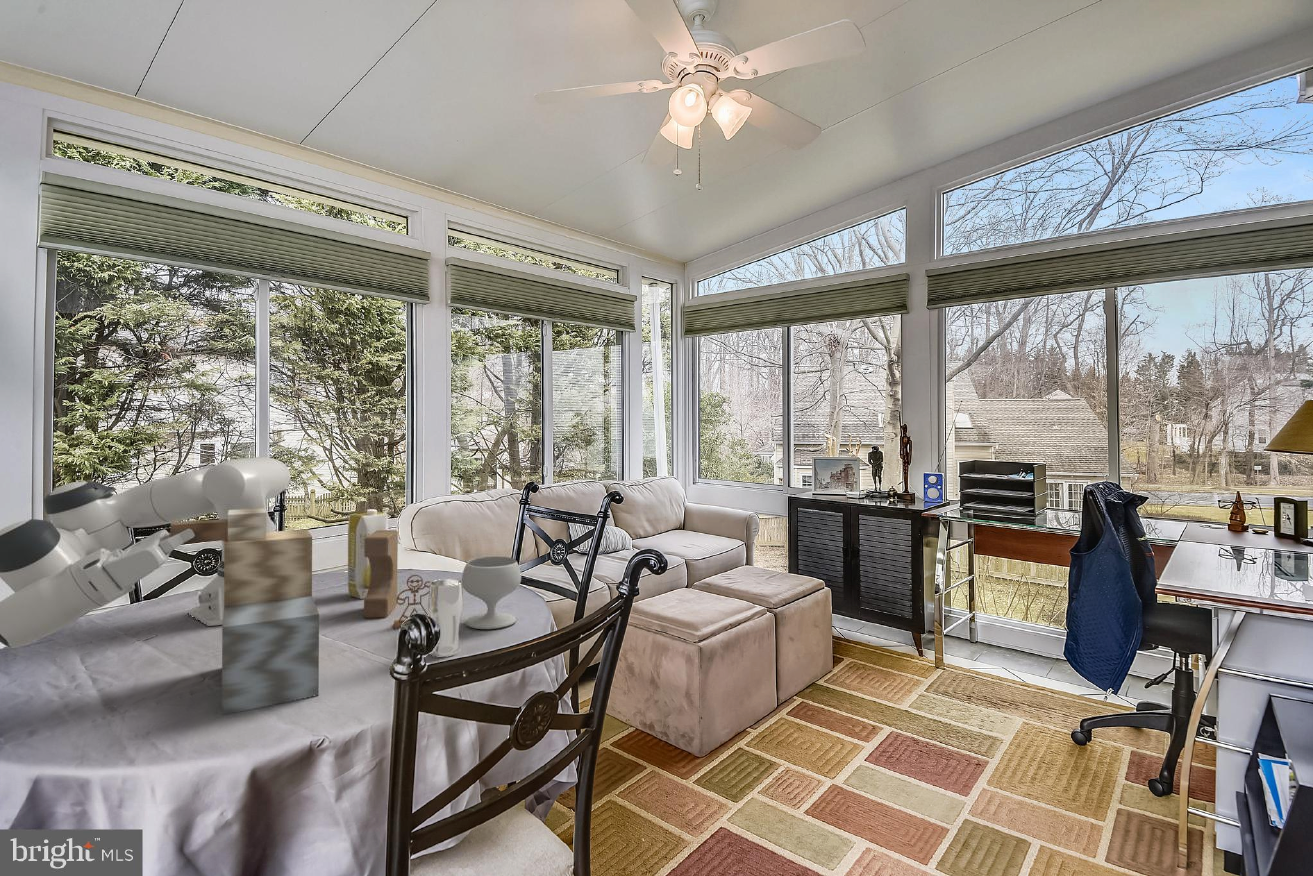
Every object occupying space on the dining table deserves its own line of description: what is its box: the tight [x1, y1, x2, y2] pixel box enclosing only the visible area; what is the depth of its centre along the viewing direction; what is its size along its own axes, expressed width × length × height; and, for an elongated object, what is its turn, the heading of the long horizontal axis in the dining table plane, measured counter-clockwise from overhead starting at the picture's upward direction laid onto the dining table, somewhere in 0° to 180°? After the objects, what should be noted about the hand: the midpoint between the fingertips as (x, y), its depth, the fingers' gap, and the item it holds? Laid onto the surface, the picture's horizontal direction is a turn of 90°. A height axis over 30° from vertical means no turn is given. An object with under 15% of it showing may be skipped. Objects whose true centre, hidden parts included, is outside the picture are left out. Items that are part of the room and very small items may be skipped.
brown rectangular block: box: [169, 508, 267, 545], centre depth 116 cm, size 14×7×5 cm, turn 124°
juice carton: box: [347, 508, 389, 600], centre depth 173 cm, size 9×8×24 cm
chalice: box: [461, 556, 522, 630], centre depth 151 cm, size 14×14×15 cm
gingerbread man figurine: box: [393, 574, 431, 630], centre depth 149 cm, size 9×4×12 cm, turn 115°
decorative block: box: [363, 529, 399, 619], centre depth 158 cm, size 11×6×20 cm, turn 9°
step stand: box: [221, 529, 320, 716], centre depth 115 cm, size 14×24×26 cm, turn 34°
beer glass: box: [427, 577, 464, 658], centre depth 131 cm, size 7×7×15 cm
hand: (193, 529), depth 114 cm, fingers closed on brown rectangular block, 3 cm apart
